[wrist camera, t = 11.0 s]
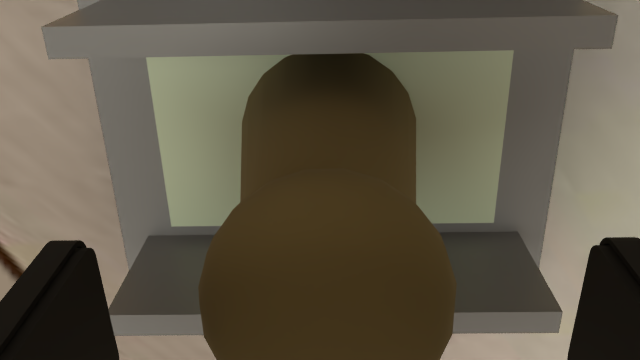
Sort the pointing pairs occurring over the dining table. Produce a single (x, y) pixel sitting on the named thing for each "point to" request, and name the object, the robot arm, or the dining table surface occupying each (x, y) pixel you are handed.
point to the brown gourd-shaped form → (328, 225)
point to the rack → (333, 38)
